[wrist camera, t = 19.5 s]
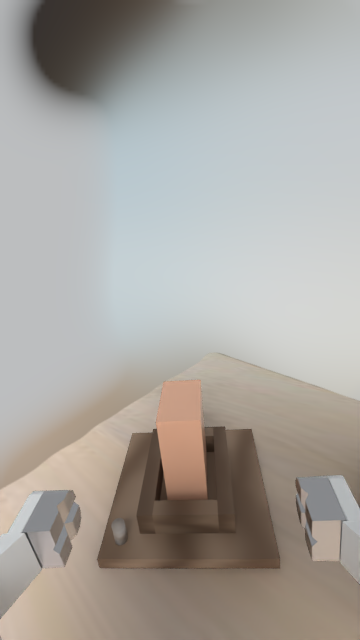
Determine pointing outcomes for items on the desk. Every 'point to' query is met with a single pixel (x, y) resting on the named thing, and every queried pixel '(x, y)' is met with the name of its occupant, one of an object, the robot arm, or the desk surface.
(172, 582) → the desk surface
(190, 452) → the keyed block
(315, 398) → the desk surface
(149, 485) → the keyed holder
